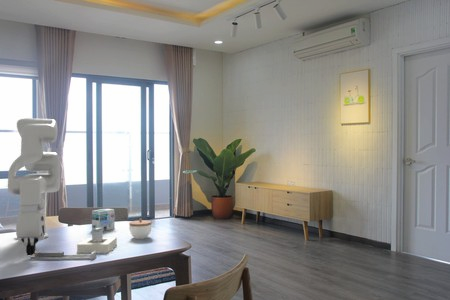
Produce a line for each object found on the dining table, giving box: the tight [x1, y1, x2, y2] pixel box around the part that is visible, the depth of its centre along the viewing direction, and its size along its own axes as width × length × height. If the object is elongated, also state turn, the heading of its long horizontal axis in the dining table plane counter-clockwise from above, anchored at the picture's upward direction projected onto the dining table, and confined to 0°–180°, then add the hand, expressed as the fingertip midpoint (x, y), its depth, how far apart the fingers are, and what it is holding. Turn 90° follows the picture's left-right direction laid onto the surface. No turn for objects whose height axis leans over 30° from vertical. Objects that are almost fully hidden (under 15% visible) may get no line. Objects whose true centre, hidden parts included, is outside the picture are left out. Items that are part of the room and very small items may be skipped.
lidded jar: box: [129, 218, 152, 240], centre depth 198 cm, size 11×11×9 cm
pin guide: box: [30, 251, 97, 261], centre depth 161 cm, size 25×4×2 cm, turn 89°
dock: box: [76, 237, 118, 254], centre depth 176 cm, size 13×13×4 cm
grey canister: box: [91, 227, 104, 243], centre depth 176 cm, size 4×4×9 cm
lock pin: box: [33, 251, 65, 257], centre depth 161 cm, size 11×2×2 cm, turn 89°
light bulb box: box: [91, 208, 116, 231], centre depth 219 cm, size 11×7×11 cm, turn 148°
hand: (30, 254), depth 161 cm, fingers closed
